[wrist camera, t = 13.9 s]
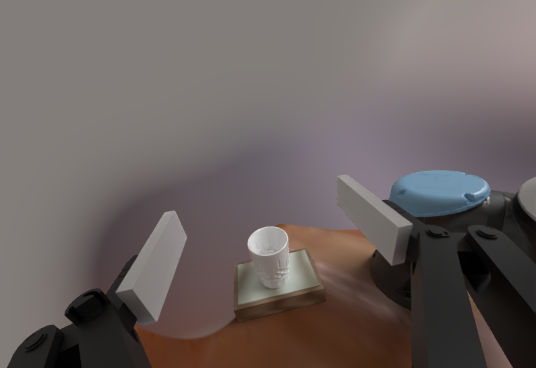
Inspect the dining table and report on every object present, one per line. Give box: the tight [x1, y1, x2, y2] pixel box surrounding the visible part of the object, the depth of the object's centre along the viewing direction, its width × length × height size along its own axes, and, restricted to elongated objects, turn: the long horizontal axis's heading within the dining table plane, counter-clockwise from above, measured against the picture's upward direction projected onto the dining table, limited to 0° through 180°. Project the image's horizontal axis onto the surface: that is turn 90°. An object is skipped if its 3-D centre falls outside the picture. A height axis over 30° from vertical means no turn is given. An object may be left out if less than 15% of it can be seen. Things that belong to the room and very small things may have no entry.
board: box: [234, 248, 326, 322], centre depth 43 cm, size 18×11×4 cm, turn 98°
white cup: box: [248, 227, 290, 289], centre depth 39 cm, size 8×8×10 cm
